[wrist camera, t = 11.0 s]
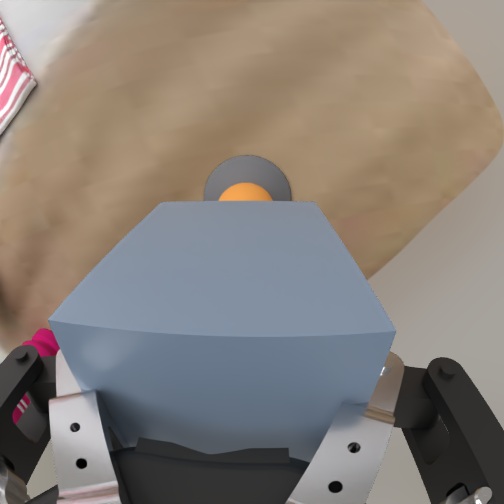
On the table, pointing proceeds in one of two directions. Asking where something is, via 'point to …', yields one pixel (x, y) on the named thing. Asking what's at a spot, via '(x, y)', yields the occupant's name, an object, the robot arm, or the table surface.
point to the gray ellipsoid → (247, 177)
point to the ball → (245, 193)
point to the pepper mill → (45, 347)
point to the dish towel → (12, 79)
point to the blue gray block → (227, 327)
